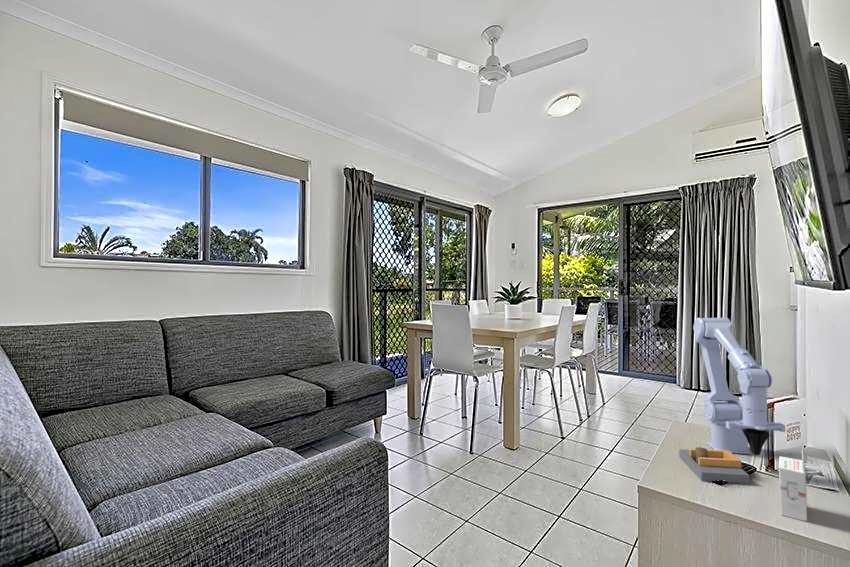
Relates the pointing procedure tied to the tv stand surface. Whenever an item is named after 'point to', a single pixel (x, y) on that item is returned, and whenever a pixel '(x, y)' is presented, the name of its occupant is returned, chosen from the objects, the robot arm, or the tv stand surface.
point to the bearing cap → (718, 458)
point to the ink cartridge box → (793, 488)
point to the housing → (714, 470)
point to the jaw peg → (701, 453)
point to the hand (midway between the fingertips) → (755, 453)
